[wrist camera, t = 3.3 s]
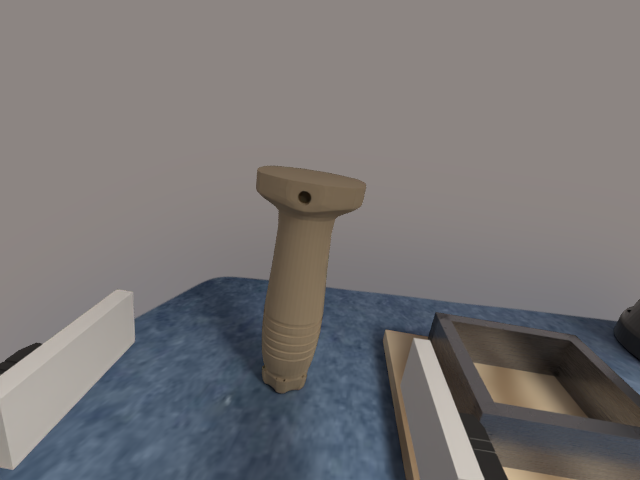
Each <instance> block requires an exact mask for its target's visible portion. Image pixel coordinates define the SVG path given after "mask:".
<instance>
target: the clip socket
mask: <svg viewBox="0 0 640 480" xmlns="http://www.w3.org/2000/svg"><path fill="white" fill-rule="evenodd" d="M428 340H430V342H431V344H432V347H433V349H434V352H435V355H436V357H437V360H438V362H439V365H440V367H441V370H442V372H443V375H444V378H445V380H446V383H447V385H448V388H449V390H450V393H451V395H452V398H453V401H454V403H455V406H456V408H457V411H458V412H460V413H466V414H472V415H474V416H475V417H476V418H477V419H478V420H479V422H480V423H481V424H482V425H483V426H484V428H485V430H486V432H487V434H488V436H489V439H490V443H492V445H493V447H494V450H495V454H497V456H498V458H499V460H500V463H501V465H502V467H507V468H513V469H519V470H524V471H530V472H536V473H542V474H547V475H553V476H559V477H565V478H570V479H576V480H640V395H639V394H638V393H637V392H636V391H634V390H633V389H632V388H631V387H630V386H629V385H628V384H627V383H626V382H625V381H624V380H623V379H622V378H621V377H619V376H618V375H617V374H616V373H615V372H614V371H613V370H612V369H611V368H610V367H609V366H608V365H607V364H606V363H604V362H603V361H602V360H601V359H600V358H599V357H598V356H597V355H596V354H595V353H594V352H593V351H592V350H591V349H589V348H588V347H587V346H586V345H585V344H584V343H583V342H582V341H581V340H580V339H579V338H578V337H577V336H576V335H570V334H564V333H558V332H552V331H546V330H540V329H534V328H528V327H522V326H516V325H510V324H504V323H498V322H492V321H486V320H480V319H474V318H468V317H462V316H456V315H450V314H444V313H438V312H436V313H435V316H434V319H433V323H432V326H431V330H430V333H429V336H428ZM474 363H479V364H485V365H491V366H497V367H503V368H509V369H515V370H521V371H527V372H533V373H539V374H545V375H551V376H555V378H556V379H557V380H558V381H559V382H560V384H561V385H562V386H563V387H564V389H565V390H566V391H567V392H568V394H569V395H570V396H571V397H572V398H573V400H574V401H575V402H576V403H577V405H578V406H579V407H580V408H581V409H582V411H583V412H584V413H585V414H586V416H587V417H588V418H585V417H579V416H573V415H567V414H561V413H555V412H549V411H543V410H538V409H532V408H526V407H520V406H514V405H508V404H502V403H496V402H494V401H493V399H492V397H491V395H490V393H489V392H488V390H487V388H486V386H485V384H484V382H483V380H482V378H481V376H480V375H479V373H478V371H477V369H476V367H475V365H474Z"/></svg>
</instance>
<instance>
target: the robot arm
mask: <svg viewBox="0 0 640 480" xmlns="http://www.w3.org/2000/svg"><path fill="white" fill-rule="evenodd" d="M614 334H615V336H616V338H617V339H618V341H619V342H620V343H621V344H622V345H623V346H624V347H625V348H626V349H627V350H628V351H629V352H631V353H632V354H633V355H634V356H636V357H637V358H638V359H640V299H639V300H638V302H637V303H636V304H635V305H634V306H633V307H629V308H627V309H626V310H625V311H624V312H623V313H622V314H621V316H620V318H619V320H618V322H617V324H616V326H615V328H614ZM134 342H135V327H134V300H133V292H131V291H125V290H119V289H117V290H115V291H114V292H113V293H111V294H110V295H109V296H107V297H106V298H104V299H103V300H102V301H100V302H99V303H98V304H96V305H95V306H94V307H92V308H91V309H90V310H88V311H87V312H86V313H84V314H83V315H82V316H80V317H79V318H77V319H76V320H75V321H73V322H72V323H71V324H69V325H68V326H67V327H65V328H64V329H63V330H61V331H60V332H59V333H57V334H56V335H55V336H53V337H52V338H50V339H49V340H48V341H46V342H45V343H44V344H41V343H35V344H32V345H30V346H28V347H26V348H23V349H21V350H19V351H17V352H16V353H15V354H13V355H12V356H10V357H9V358H7V359H6V360H5V362H2V363H0V468H6V469H12V470H14V468H15V467H16V466H17V465H18V464H19V463H20V462H21V461H22V460H23V459H24V458H25V457H26V456H27V455H28V454H29V453H30V452H31V451H32V450H33V448H34V447H35V446H36V445H37V444H38V443H39V442H40V441H41V440H42V439H43V438H44V437H45V436H46V435H47V434H48V433H49V432H50V431H51V429H52V428H53V427H54V426H55V425H56V424H57V423H58V422H59V421H60V420H61V419H62V418H63V417H64V416H65V415H66V414H67V413H68V412H69V411H70V409H71V408H72V407H73V406H74V405H75V404H76V403H77V402H78V401H79V400H80V399H81V398H82V397H83V396H84V395H85V394H86V393H87V392H88V391H89V389H90V388H91V387H92V386H93V385H94V384H95V383H96V382H97V381H98V380H99V379H100V378H101V377H102V376H103V375H104V374H105V373H106V372H107V371H108V369H109V368H110V367H111V366H112V365H113V364H114V363H115V362H116V361H117V360H118V359H119V358H120V357H121V356H122V355H123V354H124V353H125V352H126V350H127V349H128V348H129V347H130V346H131V345H132V344H133V343H134ZM400 387H401V392H402V397H403V401H404V406H405V411H406V415H407V420H408V425H409V430H410V434H411V439H412V444H413V449H414V453H415V458H416V463H417V467H418V472H419V477H420V480H508V478H507V476H506V474H505V471H504V469H503V467H502V465H501V463H500V460H499V458H498V456H497V454H495V450H494V447H493V445H492V443H490V439H489V436H488V434H487V432H486V430H485V428H484V426H483V425H482V424H481V423H480V422H479V420H478V419H477V418H476V417H475V416H474V415H472V414H466V413H460V412H458V411H457V408H456V406H455V403H454V401H453V398H452V395H451V393H450V390H449V388H448V385H447V383H446V380H445V378H444V375H443V372H442V370H441V367H440V365H439V362H438V360H437V357H436V355H435V352H434V349H433V347H432V344H431V342H430V340H424V339H418V338H413V341H412V345H411V348H410V352H409V356H408V359H407V363H406V366H405V370H404V374H403V377H402V381H401V384H400Z"/></svg>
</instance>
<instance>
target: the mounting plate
mask: <svg viewBox="0 0 640 480" xmlns="http://www.w3.org/2000/svg"><path fill="white" fill-rule="evenodd" d="M413 338H418V339H424V340H428V337H427V336H421V335H415V334H409V333H403V332H397V331H391V330H385V334H384V338H383V345H384V351H385V357H386V363H387V369H388V375H389V381H390V387H391V393H392V399H393V405H394V411H395V417H396V423H397V429H398V435H399V441H400V447H401V453H402V459H403V465H404V471H405V477H406V480H420V477H419V472H418V467H417V463H416V458H415V453H414V449H413V444H412V439H411V434H410V430H409V425H408V420H407V415H406V411H405V406H404V401H403V397H402V392H401V387H400V384H401V381H402V377H403V374H404V370H405V366H406V363H407V359H408V356H409V352H410V348H411V345H412V341H413ZM474 365H475V367H476V369H477V371H478V373H479V375H480V376H481V378H482V380H483V382H484V384H485V386H486V388H487V390H488V392H489V393H490V395H491V397H492V399H493V401H494V402H496V403H502V404H508V405H514V406H520V407H526V408H532V409H538V410H543V411H549V412H555V413H561V414H567V415H573V416H579V417H585V418H588V417H587V416H586V414H585V413H584V412H583V411H582V409H581V408H580V407H579V406H578V405H577V403H576V402H575V401H574V400H573V398H572V397H571V396H570V395H569V394H568V392H567V391H566V390H565V389H564V387H563V386H562V385H561V384H560V382H559V381H558V380H557V379H556V378H555V376H551V375H545V374H539V373H533V372H527V371H521V370H515V369H509V368H503V367H497V366H491V365H485V364H479V363H474ZM503 469H504V471H505V474H506V476H507V478H508V480H576V479H570V478H565V477H559V476H553V475H547V474H542V473H536V472H530V471H524V470H519V469H513V468H507V467H503Z"/></svg>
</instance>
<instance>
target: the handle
mask: <svg viewBox="0 0 640 480" xmlns="http://www.w3.org/2000/svg"><path fill="white" fill-rule="evenodd" d="M256 189H257V191H258V192H259V193H260V195H261V196H262V197H264V198H265V199H266V200H268V201H269V202H271V203H272V204H273V205H274V206H276V208H277V209H278V210H279V219H278V222H279V223H278V231H277V237H276V244H275V250H274V256H273V262H272V268H271V273H270V279H269V284H268V290H267V295H266V301H265V307H264V315H263V326H262V354H263V362H264V364H265V365H264V366H262V377H263V381H264V383H265V384H269V385H270V386H272V387H273V388H274V389H275V391H276V392H278V393H285V392H287V391H290V390H299V389H301V388H302V387H303V386H304V384H305V381H306V377H307V375H306V374H307V371H308V368H309V366H310V364H311V361H312V359H313V356H314V353H315V349H316V346H317V342H318V338H319V334H320V329H321V323H322V315H323V308H324V297H325V287H326V276H327V267H328V258H329V250H330V241H331V233H332V229H333V225H334V222H335V219H336V218H337V217H338V216H341V215H343V214H346V213H349V212H352V211H354V210H356V209H358V208H359V207H360V206H361V205H362V202H363V199H364V194H365V189H366V184H365V183H364V182H362V181H360V180H357V179H354V178H349V177H345V176H341V175H336V174H332V173H326V172H320V171H314V170H307V169H301V168H293V167H282V166H263V167H259V168H258V170H257V183H256Z"/></svg>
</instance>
